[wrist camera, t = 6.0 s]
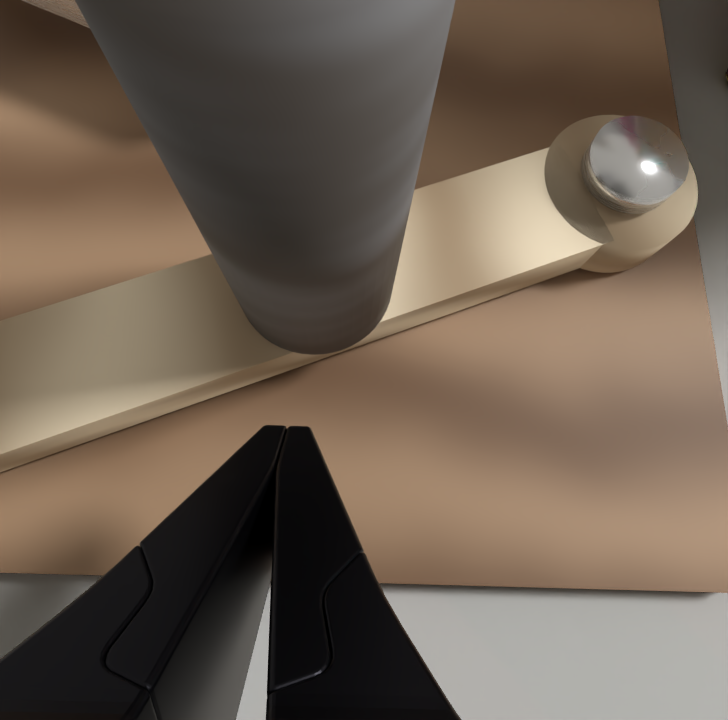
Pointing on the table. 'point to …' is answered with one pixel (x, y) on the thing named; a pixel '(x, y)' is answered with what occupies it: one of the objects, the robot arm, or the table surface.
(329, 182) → the link
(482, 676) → the table surface
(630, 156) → the steel keeper
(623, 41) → the walnut board
